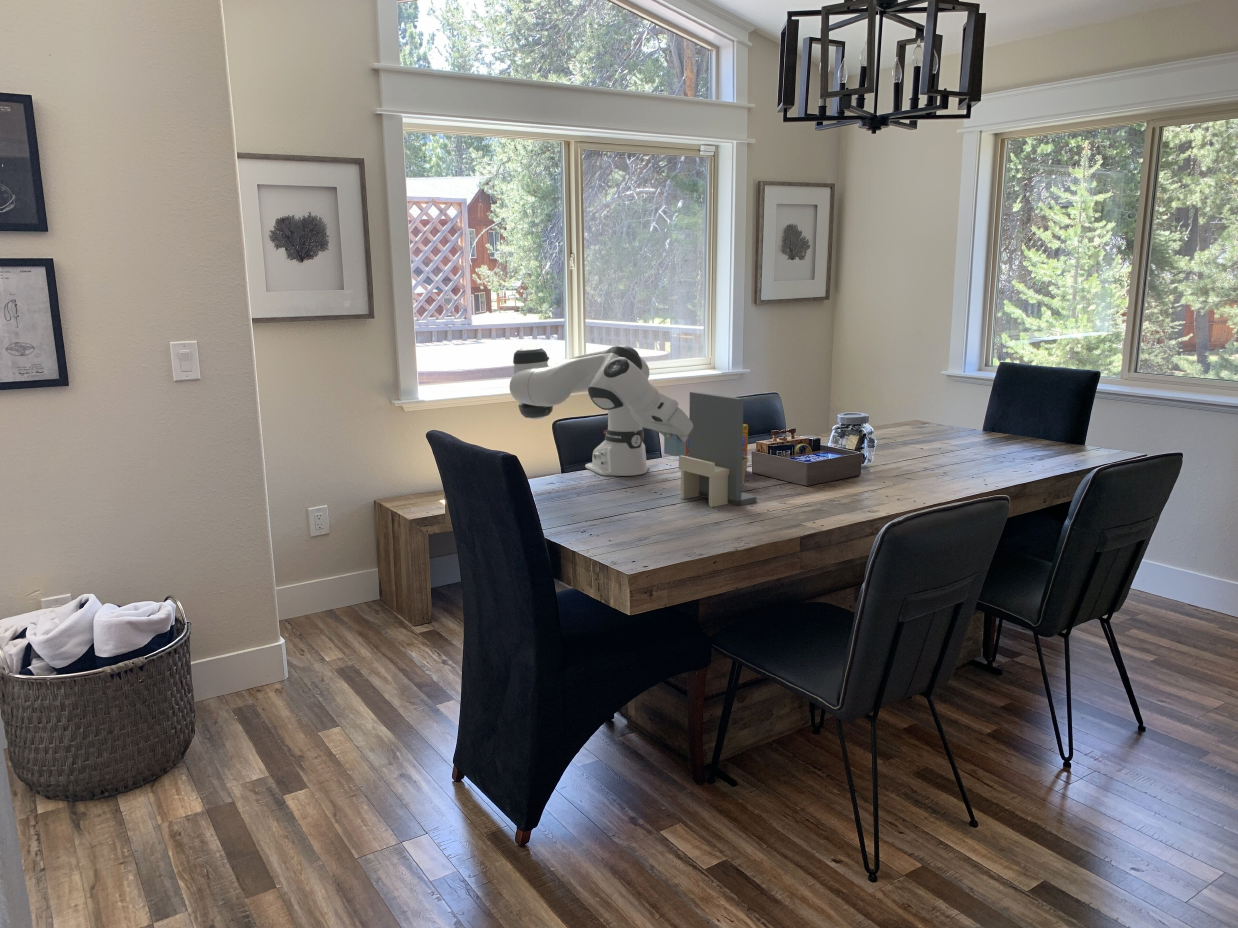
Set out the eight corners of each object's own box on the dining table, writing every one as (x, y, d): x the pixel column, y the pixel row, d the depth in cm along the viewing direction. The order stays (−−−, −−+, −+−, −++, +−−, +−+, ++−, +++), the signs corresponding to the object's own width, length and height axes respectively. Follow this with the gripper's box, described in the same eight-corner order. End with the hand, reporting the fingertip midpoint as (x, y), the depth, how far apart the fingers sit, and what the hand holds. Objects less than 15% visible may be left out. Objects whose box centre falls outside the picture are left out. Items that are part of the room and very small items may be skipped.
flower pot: (724, 490, 271) (724, 461, 270) (712, 483, 280) (713, 455, 279) (753, 487, 274) (754, 459, 272) (741, 481, 283) (741, 454, 281)
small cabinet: (661, 454, 249) (662, 425, 248) (673, 452, 252) (674, 423, 250) (673, 456, 246) (673, 427, 244) (685, 454, 248) (685, 426, 246)
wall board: (671, 496, 264) (672, 393, 258) (708, 489, 273) (710, 389, 267) (718, 509, 248) (720, 401, 242) (756, 501, 257) (759, 396, 251)
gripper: (618, 410, 248) (646, 441, 256) (666, 419, 232) (695, 452, 240) (631, 393, 250) (659, 424, 258) (680, 400, 234) (707, 434, 241)
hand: (676, 438), depth 248 cm, fingers closed on small cabinet, 5 cm apart
